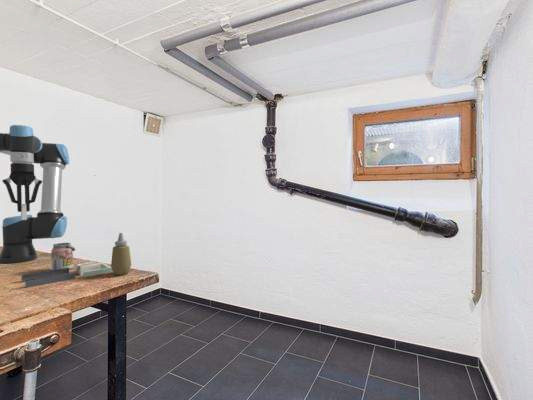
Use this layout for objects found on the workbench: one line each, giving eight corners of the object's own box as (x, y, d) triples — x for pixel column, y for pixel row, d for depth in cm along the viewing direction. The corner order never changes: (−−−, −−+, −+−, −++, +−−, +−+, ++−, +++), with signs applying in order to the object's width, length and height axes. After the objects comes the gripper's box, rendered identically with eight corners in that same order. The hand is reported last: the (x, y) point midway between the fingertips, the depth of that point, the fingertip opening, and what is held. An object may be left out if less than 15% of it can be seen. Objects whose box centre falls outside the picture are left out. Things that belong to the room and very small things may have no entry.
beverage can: (64, 266, 139) (64, 241, 139) (79, 267, 138) (79, 242, 137) (46, 271, 130) (46, 245, 130) (62, 272, 129) (61, 246, 128)
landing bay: (75, 271, 131) (75, 267, 131) (103, 266, 139) (102, 262, 139) (83, 277, 122) (83, 272, 122) (112, 271, 130) (112, 267, 130)
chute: (21, 281, 116) (21, 275, 116) (68, 273, 128) (68, 267, 128) (25, 287, 109) (25, 281, 109) (75, 278, 121) (75, 272, 120)
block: (76, 273, 129) (76, 264, 128) (96, 269, 134) (96, 261, 134) (80, 276, 125) (80, 267, 124) (101, 272, 130) (101, 263, 130)
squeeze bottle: (127, 270, 133) (127, 231, 133) (134, 273, 128) (133, 233, 127) (108, 273, 128) (107, 233, 127) (114, 277, 122) (113, 235, 121)
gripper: (2, 161, 113) (3, 221, 114) (43, 163, 123) (44, 219, 124) (0, 162, 118) (2, 220, 119) (40, 164, 128) (41, 217, 129)
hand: (23, 219), depth 121 cm, fingers closed
